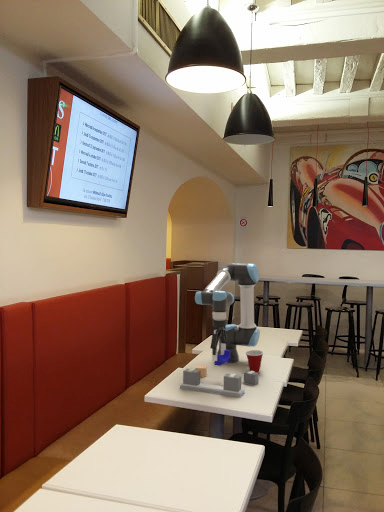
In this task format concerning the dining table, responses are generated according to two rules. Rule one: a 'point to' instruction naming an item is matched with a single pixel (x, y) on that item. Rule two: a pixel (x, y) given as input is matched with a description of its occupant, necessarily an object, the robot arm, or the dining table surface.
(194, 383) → the rail fixture
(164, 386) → the dining table surface
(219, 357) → the cable clip
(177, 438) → the dining table surface
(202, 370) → the terminal block
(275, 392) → the dining table surface
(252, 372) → the block
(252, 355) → the plastic cup
